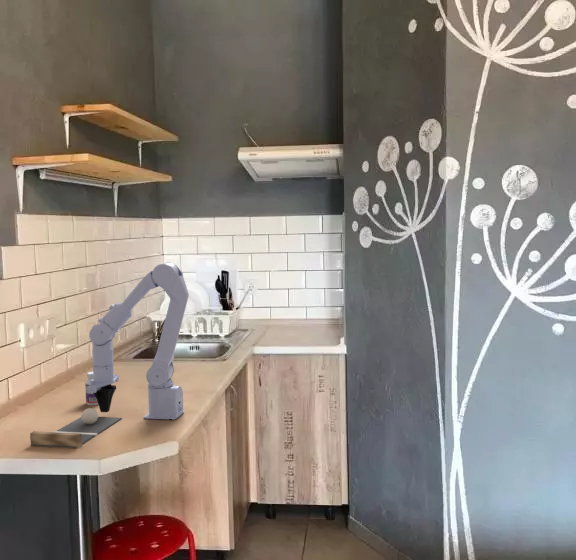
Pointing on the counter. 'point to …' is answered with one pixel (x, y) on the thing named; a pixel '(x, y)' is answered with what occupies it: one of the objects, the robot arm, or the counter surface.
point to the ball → (89, 416)
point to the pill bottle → (90, 396)
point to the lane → (86, 429)
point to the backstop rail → (56, 439)
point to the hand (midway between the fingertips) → (104, 411)
